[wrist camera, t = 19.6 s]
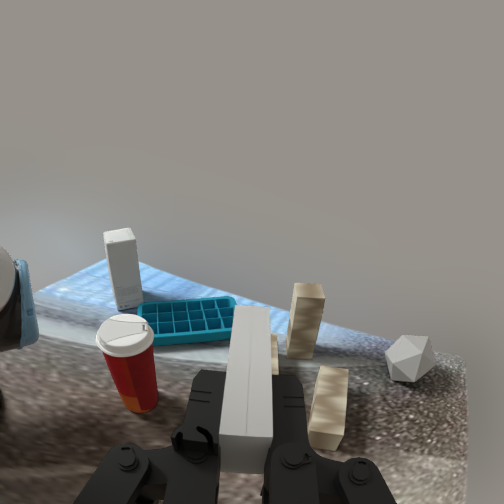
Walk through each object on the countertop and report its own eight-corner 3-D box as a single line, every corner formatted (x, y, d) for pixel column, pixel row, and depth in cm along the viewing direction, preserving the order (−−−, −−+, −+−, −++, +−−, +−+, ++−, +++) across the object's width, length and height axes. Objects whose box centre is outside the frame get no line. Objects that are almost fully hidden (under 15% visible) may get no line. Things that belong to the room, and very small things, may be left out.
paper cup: (162, 379, 46) (151, 309, 41) (168, 416, 40) (154, 346, 34) (115, 383, 44) (96, 313, 38) (116, 420, 37) (90, 350, 32)
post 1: (247, 388, 41) (251, 332, 53) (245, 407, 43) (249, 352, 55) (281, 390, 41) (278, 334, 53) (277, 409, 43) (276, 353, 55)
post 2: (286, 358, 53) (297, 297, 48) (285, 342, 57) (294, 282, 52) (313, 359, 53) (327, 298, 48) (310, 343, 57) (322, 284, 52)
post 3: (309, 430, 35) (320, 365, 46) (303, 447, 36) (315, 384, 48) (346, 435, 34) (350, 369, 45) (337, 452, 35) (343, 388, 47)
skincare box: (144, 306, 65) (137, 239, 59) (115, 312, 62) (105, 244, 55) (137, 288, 71) (131, 226, 65) (111, 292, 68) (102, 230, 62)
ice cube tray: (139, 314, 63) (137, 302, 61) (232, 307, 68) (232, 295, 67) (138, 350, 52) (136, 338, 51) (246, 340, 58) (247, 328, 57)
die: (419, 363, 52) (405, 320, 53) (448, 372, 44) (435, 324, 44) (386, 387, 51) (370, 343, 51) (413, 401, 42) (398, 353, 42)
